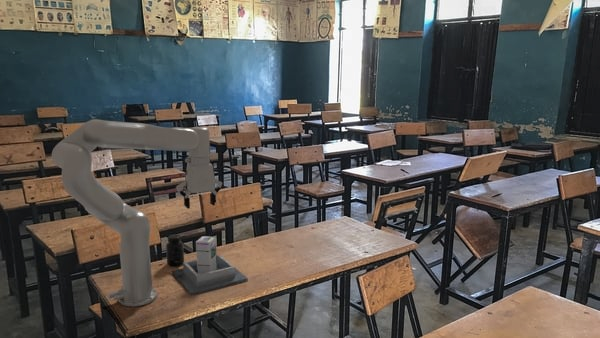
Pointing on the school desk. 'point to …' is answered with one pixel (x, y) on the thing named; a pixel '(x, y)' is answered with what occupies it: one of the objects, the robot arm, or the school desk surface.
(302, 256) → the school desk surface
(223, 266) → the socket
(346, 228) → the school desk surface
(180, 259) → the supplement bottle
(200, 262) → the syrup box
